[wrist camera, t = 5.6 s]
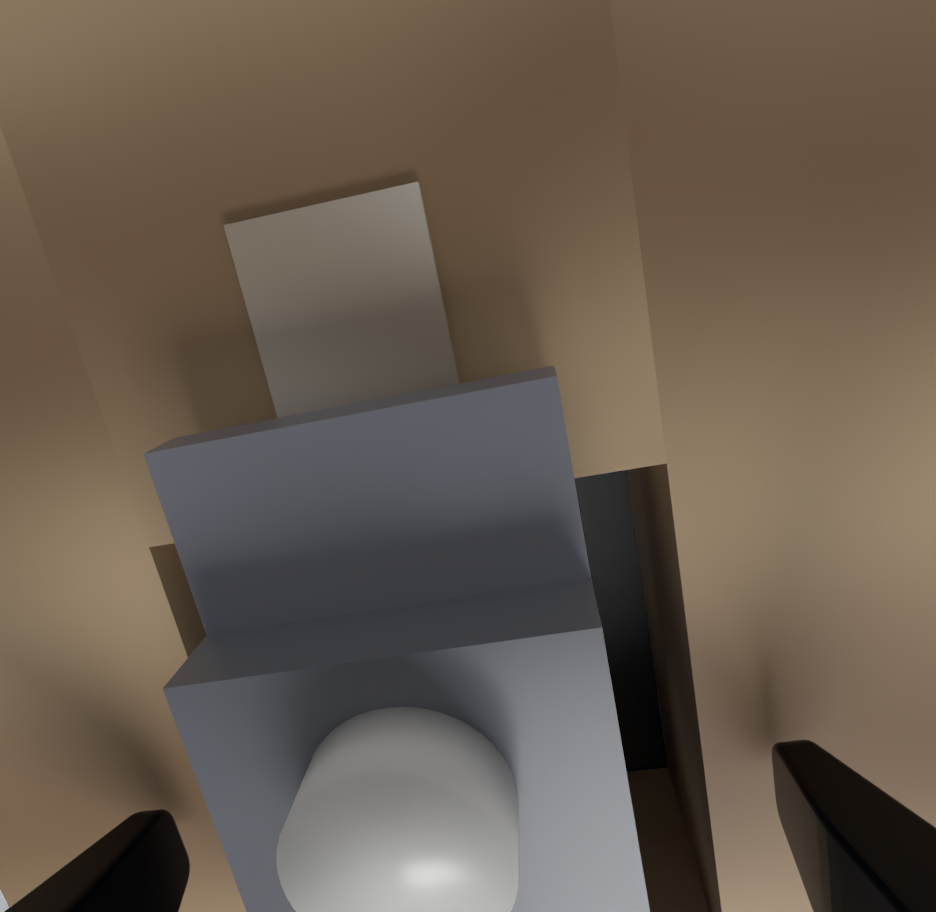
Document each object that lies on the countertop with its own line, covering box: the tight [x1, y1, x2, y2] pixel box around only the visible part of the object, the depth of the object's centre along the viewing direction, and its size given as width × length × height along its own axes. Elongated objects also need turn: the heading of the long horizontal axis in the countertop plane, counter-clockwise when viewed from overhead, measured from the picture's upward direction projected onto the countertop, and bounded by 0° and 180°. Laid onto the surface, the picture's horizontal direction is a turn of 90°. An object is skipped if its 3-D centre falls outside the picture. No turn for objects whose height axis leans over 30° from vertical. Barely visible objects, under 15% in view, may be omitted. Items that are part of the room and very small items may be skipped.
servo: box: [144, 366, 650, 912], centre depth 9 cm, size 10×4×7 cm, turn 12°
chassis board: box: [0, 0, 936, 912], centre depth 10 cm, size 20×14×4 cm
